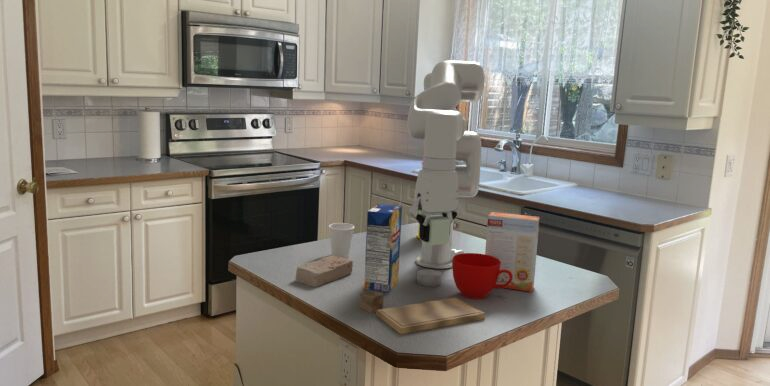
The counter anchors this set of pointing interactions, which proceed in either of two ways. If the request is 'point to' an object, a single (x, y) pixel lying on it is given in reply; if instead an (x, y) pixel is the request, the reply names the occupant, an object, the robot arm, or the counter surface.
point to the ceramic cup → (477, 274)
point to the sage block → (438, 230)
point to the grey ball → (429, 277)
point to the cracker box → (513, 247)
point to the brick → (324, 270)
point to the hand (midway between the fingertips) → (434, 238)
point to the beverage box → (382, 247)
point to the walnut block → (371, 301)
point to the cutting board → (429, 315)
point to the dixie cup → (341, 239)
